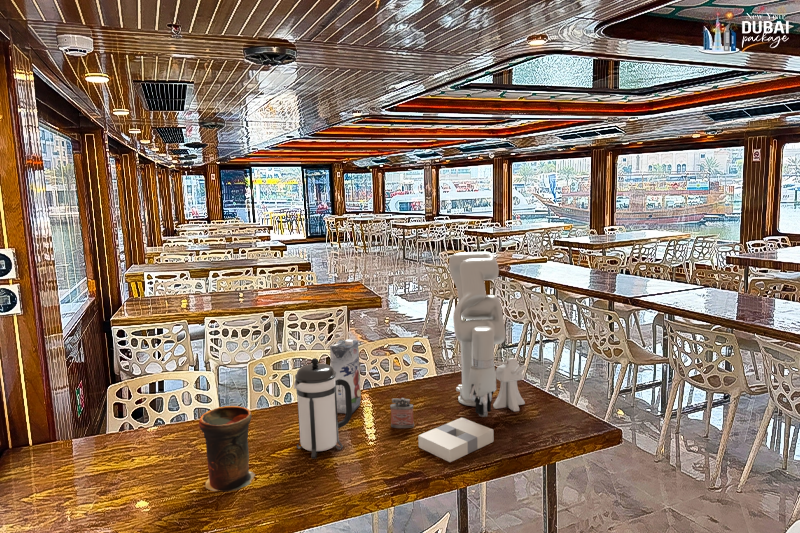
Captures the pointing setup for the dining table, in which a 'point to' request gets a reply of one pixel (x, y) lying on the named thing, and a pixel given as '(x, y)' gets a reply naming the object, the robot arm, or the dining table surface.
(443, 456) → the clevis block
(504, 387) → the toy gun turret
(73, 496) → the dining table surface
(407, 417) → the lighter
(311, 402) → the coffee press
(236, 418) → the vessel
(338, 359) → the juice carton
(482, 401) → the steel pin
